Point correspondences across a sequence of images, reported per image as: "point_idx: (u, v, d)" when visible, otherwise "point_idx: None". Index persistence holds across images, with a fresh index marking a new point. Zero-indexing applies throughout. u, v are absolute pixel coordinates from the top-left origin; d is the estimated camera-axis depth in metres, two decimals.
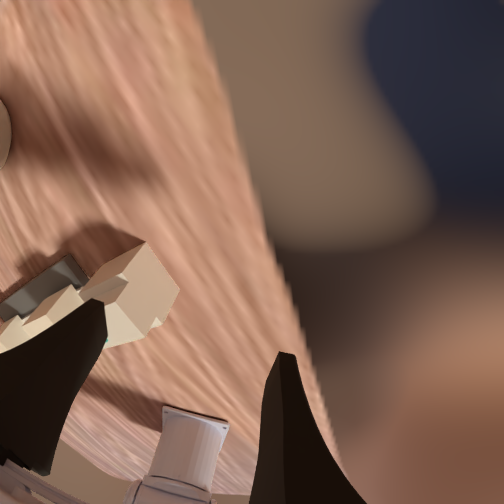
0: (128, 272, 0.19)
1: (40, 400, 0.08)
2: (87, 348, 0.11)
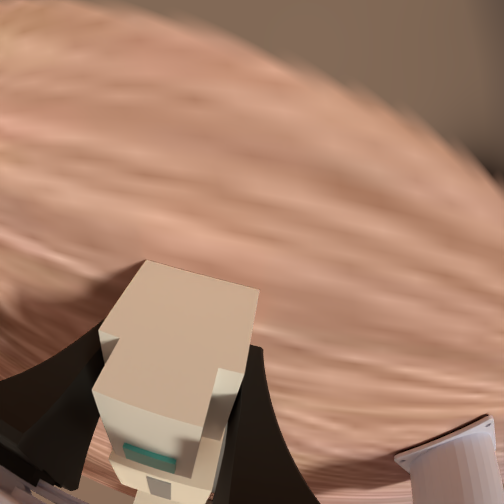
0: (114, 322, 0.09)
1: (72, 416, 0.08)
2: None
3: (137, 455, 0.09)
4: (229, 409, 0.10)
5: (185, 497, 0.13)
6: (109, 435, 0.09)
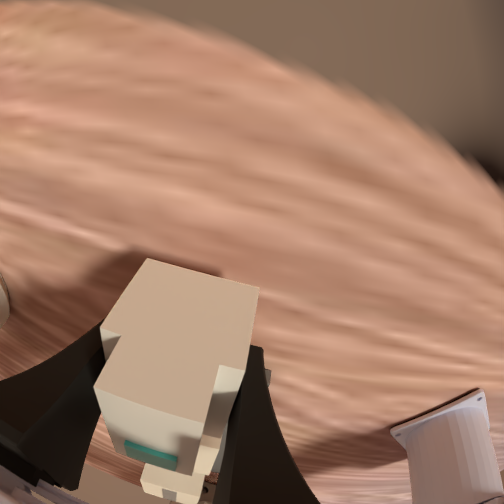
0: (115, 320, 0.09)
1: (72, 416, 0.08)
2: None
3: (138, 452, 0.09)
4: (230, 406, 0.10)
5: None
6: (110, 433, 0.09)
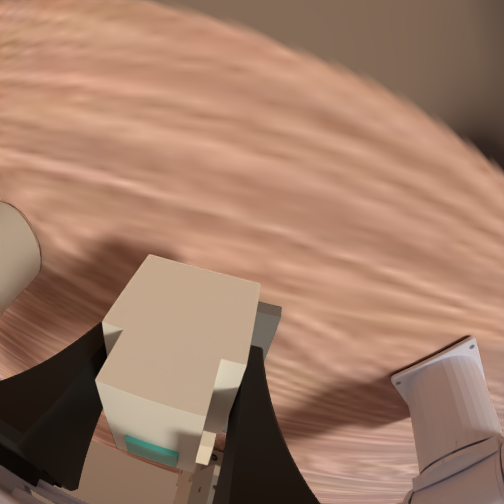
0: (117, 314, 0.09)
1: (72, 416, 0.08)
2: None
3: (139, 448, 0.09)
4: (231, 401, 0.10)
5: None
6: (111, 428, 0.09)
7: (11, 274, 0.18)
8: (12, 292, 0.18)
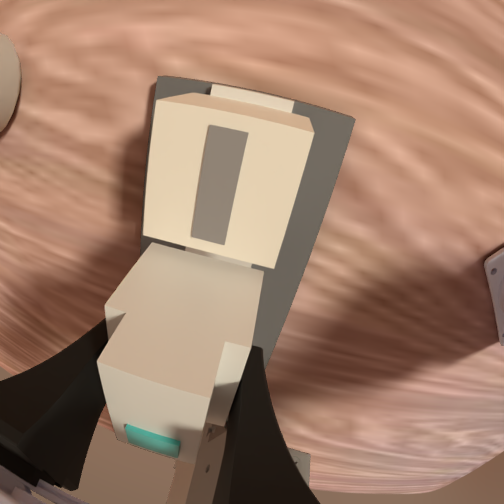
0: (120, 298, 0.09)
1: (72, 416, 0.08)
2: None
3: (140, 437, 0.09)
4: (234, 389, 0.10)
5: (256, 211, 0.11)
6: (112, 416, 0.09)
7: None
8: None
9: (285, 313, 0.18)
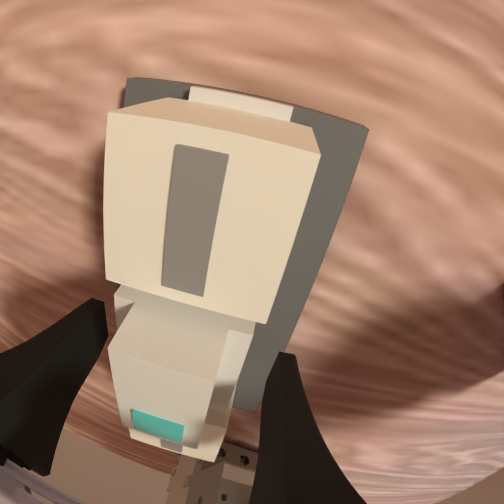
0: (129, 288, 0.10)
1: (40, 400, 0.08)
2: (87, 348, 0.11)
3: (146, 422, 0.09)
4: (236, 375, 0.11)
5: (242, 257, 0.08)
6: (119, 402, 0.09)
7: None
8: None
9: (282, 350, 0.16)
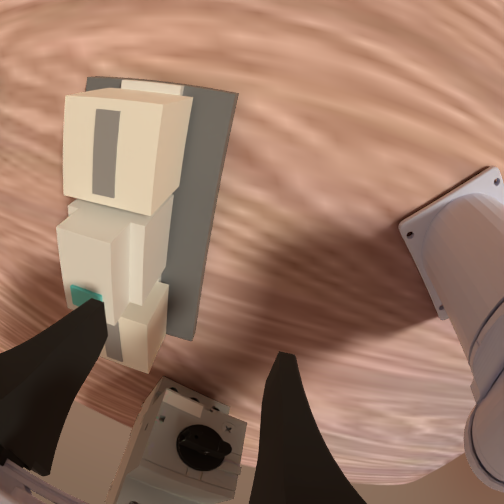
0: (77, 202, 0.15)
1: (40, 400, 0.08)
2: (87, 348, 0.11)
3: (78, 294, 0.14)
4: (141, 264, 0.15)
5: (131, 169, 0.13)
6: (63, 279, 0.14)
7: None
8: None
9: (199, 272, 0.21)
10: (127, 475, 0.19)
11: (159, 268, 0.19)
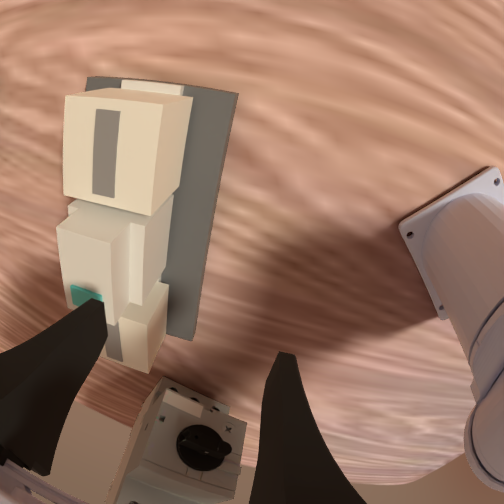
0: (77, 202, 0.15)
1: (40, 400, 0.08)
2: (87, 348, 0.11)
3: (78, 294, 0.14)
4: (141, 264, 0.15)
5: (131, 169, 0.13)
6: (63, 279, 0.14)
7: None
8: None
9: (199, 272, 0.21)
10: (127, 475, 0.19)
11: (159, 268, 0.19)
